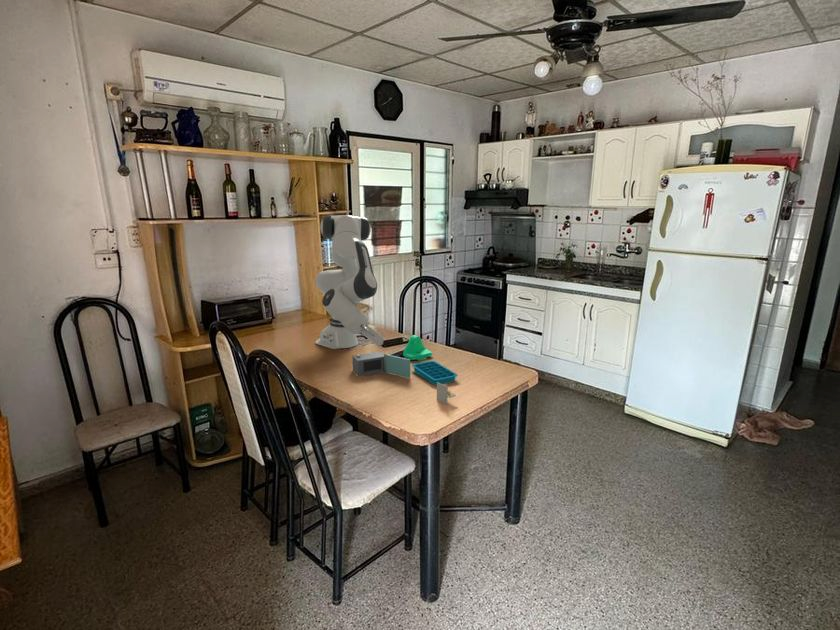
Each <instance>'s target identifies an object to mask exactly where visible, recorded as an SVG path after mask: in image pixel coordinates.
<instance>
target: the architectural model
mask: <svg viewBox="0 0 840 630" xmlns="http://www.w3.org/2000/svg"><path fill="white" fill-rule="evenodd" d="M455 397H457V394H456V393H453V392H451V390H449V387H448V386H447V383H445V384H440V383H438V382H437V385H436V401H439V402H440V403H442V404H443V405H444V404H445V405H446V406H447V405H448V399H451V398H452V399H453V398H455Z"/></svg>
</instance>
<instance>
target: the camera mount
mask: <svg viewBox="0 0 840 630" xmlns="http://www.w3.org/2000/svg"><path fill="white" fill-rule="evenodd" d="M402 356H403V357H404V358H406V359H410V361H411V360H412V361H413V360H415V361H416V360H417V361H422V360H426V359H427V358H428V357H431V356H433V352H432V351H431V350H429V349H427V348H426V347H425V345H424V343H423V342H422V338H421V337H420V336H418V335H416V334H413V335H411V336H410V337H409V340H408V342H407V343H406V345H405V348H404V350H403V352H402Z"/></svg>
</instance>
